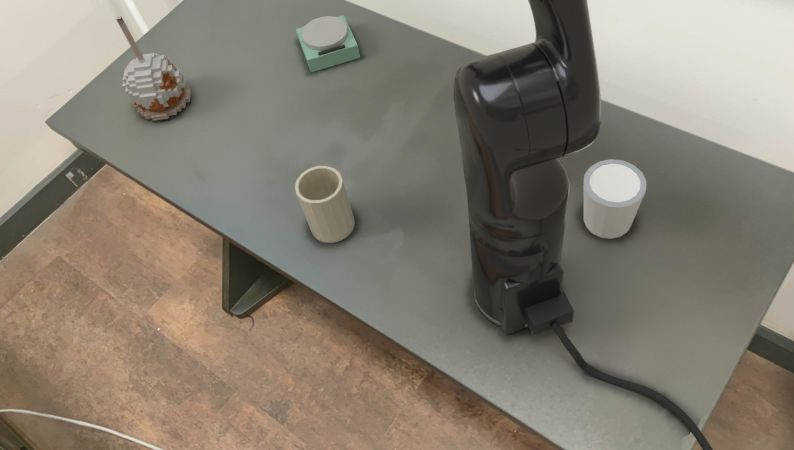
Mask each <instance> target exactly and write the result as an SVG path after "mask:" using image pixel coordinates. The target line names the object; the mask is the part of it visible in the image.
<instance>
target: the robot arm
mask: <svg viewBox="0 0 794 450" xmlns="http://www.w3.org/2000/svg"><path fill="white" fill-rule="evenodd" d="M527 2H528V4H529V7H530V11H531V15H532V18H533V19H532V20H533V22H534V29H535V40H534V42H531V43H528V44H524V45H521V46H518V47H514V48H510V49H506V50H503V51H499V52H495V53H493V54H489V55H485V56H481V57H478V58H475V59H472V60H469V61H466V62H464V63H463V64H461V65H460V66H459V68H458V69H457V71H456V73H455V76H454V80H453V88H452V89H453V105H454V112H455V119H456V120H455V121H456V125H457V130H458V137H459V143H460V149H461V150H460V151H461V160H462V170H463V177H464V183H465V189H466V190H465V191H466V201H467V202H466V203H467V210H468V211H467V212H468V229H469V239H470V240H469V241H470V256H471V257H470V258H471V270H472V272H471V273H472V281H473V284H472V285H473V286H472V293H473V300H474V303H475V306H476V308H477V309H478V311H479V312H480V314H481V315H482V316H483V317H484V318H485V319H486V320H488V321H489V322H490V323H492V324H494V325H496V326H498V327H501V329H502V330H503V332H504V334H505V335H511V334H514V333H516V332H520V331H522V330H525V329H528V328H529V329H528V330H529V331H530V332H531V335H532V336H533V337H535V336H537V335H539V334H542V333H545V332H547V331H550V330H552V331H553V332H554V333H555V335H556V336H557V338H558V340H559V341H560V343H561V344H562V346H563V347H564V348H565V349H566V351H567V353H569V355H570V356H571V357H572V359H573V360H574V361H575V363H576V364H577V366H578V367H579V368H580V369H581V370H582V371H583V372H585V373H587V374H588V375H589V376H592V377H593V378H595V379H597V380H600V381H602V382H604V383H607V384H610V385H613V386H615V387H619V388H622V389H626V390H629V391H632V392H634V393H638V394H641V395H643V396H646V397H648V398H649V399H652V400H654V401H656V402H658V403H659V404H661V405H662V406H664V407H665V408H666V409H668V410H669V411H670V412H672V413H673V414H674V415H675V416H676V417H677V418H678V419H679V420H680V421H681V423H683V424H684V425H685V426H686V428H687V429H688V430H689V431H690V433H691V434H692V435H693V437H694V438H695V440H696V441H697V443H698V444H699V446H700V447H701V449H702V450H714V449H713V447H712V445H711V444H710V443H709V441H708V440H707V438H706V437H705V435H704V433H703V432H702V431H701V429H700V428H699V426H697V424H696V423H695V421H694V420H693V419H692V418H691V417H690V416H689V415H688V414H687V413H686V412H685V411H684V410H683V409H682V408H681V406H679V405H677V404H676V403H675V402H674V401H673V400H672V399H669V398H668V397H667V396H665V395H663V394H661V393H660V392H658V391H656V390H655V389H652V388H650V387H648V386H644V385H642V384H639V383H636V382H633V381H629V380H626V379H622V378H619V377H617V376H613V375H610V374H607V373H605V372H603V371H601V370H599V369H597V368H595V367H594V366H592V365H591V364H590V363H588V362H587V361H586V360H585V359H584V357H583V356H582V354H581V353H580V352H579V350H578V349H577V348H576V346H575V344H573V342H572V341H571V339H570V338H569V336H568V335H567V333H566V332H565V331H564V329H563V328H562V326H564V325H566V324H569V323H572V322H573V321H574V314H575V310H574V308H573V306H572V304H571V302H570V300H569V298H568V297H567V295H566V293H565V291H564V290H562V286H563V279H564V278H563V277H564V268H563V267H562V256H563V248H564V246H563V245H564V239H565V229H566V222H567V214H568V207H569V198H570V189H571V187H570V179H569V175H568V172H567V170H566V168H565V166H564V164H563V163H562V162H561V160H560V158H564V157H566V156H569V155H572V154H575V153H578V152H580V151H583V150H584V149H586V148H589V147H590V146H591V145H593V143H595V141H596V139H597V137H598V135H599V133H600V128H601V123H602V94H601V84H600V77H599V70H598V62H597V55H596V50H595V43H594V35H593V30H592V29H593V28H592V24H591V17H590V11H589V4H588V0H527Z"/></svg>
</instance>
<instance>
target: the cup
mask: <svg viewBox="0 0 794 450" xmlns="http://www.w3.org/2000/svg"><path fill="white" fill-rule="evenodd" d="M294 190H295V194H296V197H297V199H298V201H299V202H298V203H299V204H300V206H301V209H302V212H303V214H304V218H305V219H306V222H307V224H308V227H309V230H310V232H311V234H312V235H313V237H314V238H315V240H318V241H319V242H322V243H325V244H334V243H339V242H341V241H343V240H345V239H346V238H348V237H349V236H350V234H352V232H353V230H354V228H355V223H356V222H355V217H354V212H353V210H352V206H351V203H350V200H349V197H348V193H347V190H346V187H345V183H344V179H343V177H342V174H341V173H340V171H338V170H337V169H336V168H334V167H331V166H328V165H316V166H313V167H309V168H308V169H307V170H305V171H303V172H302V173H301V174H300V175H299V176H298V177H297V179H296V181H295V184H294Z"/></svg>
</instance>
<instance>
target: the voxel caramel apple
mask: <svg viewBox="0 0 794 450" xmlns="http://www.w3.org/2000/svg"><path fill="white" fill-rule="evenodd" d="M115 20H116V22H117V23H118V26H119V27H120V29H121V31H122V33H123V34H124V37H125V38H126V40H127V42H128V44H129V45H130V48H131V49H132V51H133V53H134V55H135V56H136V57H135V58H133V59H131V61H129V62H128V64H127V65H126V68H125V69H124V71H123V76H122V84H121V88H122V89H123V91H124V93H125V94H126V96H127V97H128V99H129V101H130V103H131V104H134V107H133V108H134V109H135V110H137V111H136V112H137V114H138V115H140V117H142V118H144V119H145V120H148V119H151V121H154V122H155V121H160V120H167V119H169V118H170V117H171V116H175V115H176V116H177V115H178V113H179V112H181V111H182V109H185V108H186V105H187V103H191V96H192V90H191V88H189V84H188V83H186V80H185V75H184V73H183V71H182V70H181V68H178V67H177V66H176V64H175V63H173V62H172V61H171V59H170V58H168V56H167V54H161V55H160V54H159V53H155V52H150V53H143V54H142V52H141V49H140V48H139V46H138V45H137V42H136V41H135V39H134V37H133V36H132V34H131V32H130V29H129V28H128V26H127V24H126V22H125V20H124V18H123V17H122V15H119V16H116V18H115Z"/></svg>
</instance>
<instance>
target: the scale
mask: <svg viewBox="0 0 794 450" xmlns="http://www.w3.org/2000/svg"><path fill="white" fill-rule="evenodd" d="M295 33H296V35H297V38H298V41H299V45H300V47H301V49H302V52H303V56H304V58H305V61H306V63H307V66H308V68H309V72H310V73H314V72H317V71H321V70H324V69H328V68H331V67H335V66H337V65H341V64H344V63H348V62H351V61H355V60H358V59H360V58H361V54H360V49H359V45H358V43H357V41H356V38H355V36H354V33H353V31H352V30H351V27H350V24H349V23H348V21H347V18H346V16H345V14H343V15H339V16H330V15H327V16H320V17H316V18H314V19H312V20H310V21H309V22H307V24H305V25H304V26H302V27H297V28H295Z"/></svg>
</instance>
